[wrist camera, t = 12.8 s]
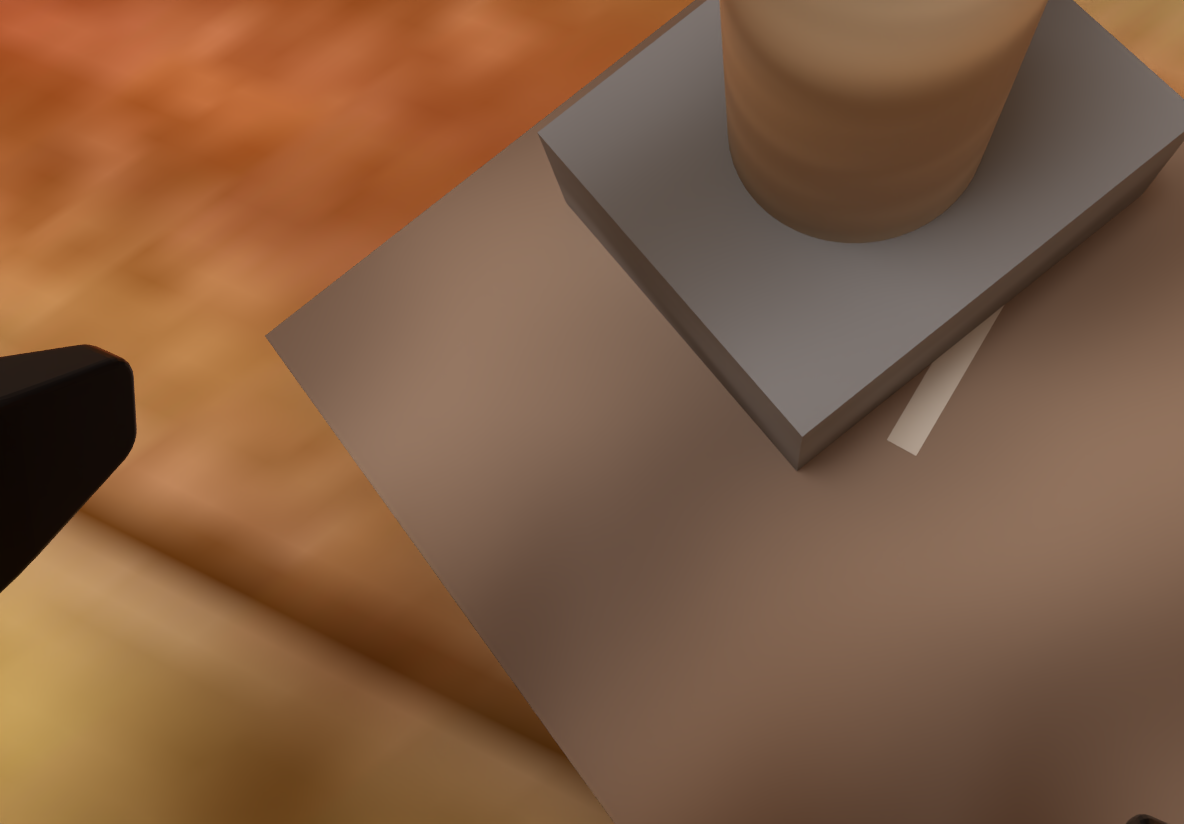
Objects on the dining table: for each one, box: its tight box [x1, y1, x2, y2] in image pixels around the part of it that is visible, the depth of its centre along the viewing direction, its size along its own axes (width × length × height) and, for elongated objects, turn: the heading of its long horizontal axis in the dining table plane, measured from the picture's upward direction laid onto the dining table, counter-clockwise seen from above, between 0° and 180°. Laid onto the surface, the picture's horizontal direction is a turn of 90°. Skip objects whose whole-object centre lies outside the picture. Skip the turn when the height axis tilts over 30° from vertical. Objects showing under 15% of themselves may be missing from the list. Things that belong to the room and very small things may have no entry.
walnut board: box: [265, 0, 1184, 824], centre depth 18 cm, size 15×14×1 cm
